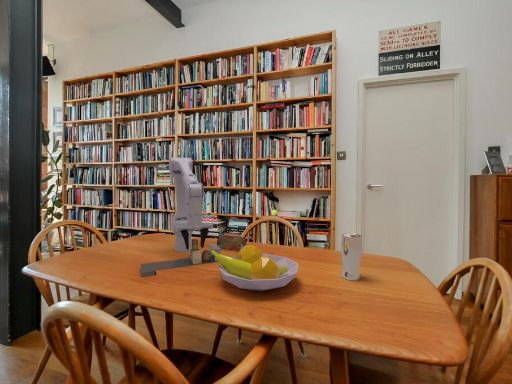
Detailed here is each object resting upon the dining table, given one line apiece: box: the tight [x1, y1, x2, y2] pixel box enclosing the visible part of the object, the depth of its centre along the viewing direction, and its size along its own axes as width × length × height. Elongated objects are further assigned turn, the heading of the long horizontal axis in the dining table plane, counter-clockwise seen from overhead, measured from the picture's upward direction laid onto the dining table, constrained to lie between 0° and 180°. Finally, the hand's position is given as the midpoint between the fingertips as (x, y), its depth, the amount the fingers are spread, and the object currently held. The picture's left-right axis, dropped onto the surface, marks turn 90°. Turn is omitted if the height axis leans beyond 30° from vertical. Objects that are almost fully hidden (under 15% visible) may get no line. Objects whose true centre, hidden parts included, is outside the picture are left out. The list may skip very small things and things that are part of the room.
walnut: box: [201, 249, 211, 261], centre depth 109 cm, size 4×4×4 cm
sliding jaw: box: [188, 238, 202, 264], centre depth 107 cm, size 8×3×8 cm, turn 26°
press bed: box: [139, 243, 222, 278], centre depth 105 cm, size 10×30×6 cm, turn 116°
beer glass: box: [340, 232, 363, 281], centre depth 94 cm, size 7×7×15 cm
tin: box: [216, 234, 248, 253], centre depth 123 cm, size 15×3×8 cm, turn 62°
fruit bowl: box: [211, 244, 299, 292], centre depth 90 cm, size 28×27×11 cm
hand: (194, 248), depth 106 cm, fingers open, 5 cm apart
